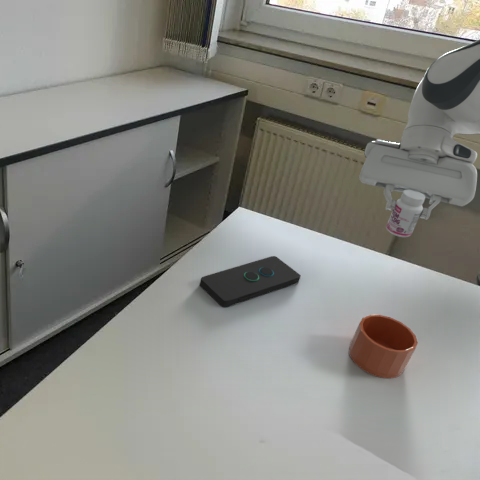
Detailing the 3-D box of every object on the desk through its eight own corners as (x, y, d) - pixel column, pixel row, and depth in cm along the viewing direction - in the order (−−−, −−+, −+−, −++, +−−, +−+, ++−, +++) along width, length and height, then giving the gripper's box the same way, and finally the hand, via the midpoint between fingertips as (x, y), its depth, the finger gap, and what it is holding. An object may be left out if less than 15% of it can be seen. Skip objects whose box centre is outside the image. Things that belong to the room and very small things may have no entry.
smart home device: (303, 276, 109) (225, 301, 100) (300, 282, 110) (224, 308, 101) (274, 254, 115) (199, 276, 106) (272, 260, 116) (197, 283, 107)
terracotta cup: (409, 357, 94) (422, 331, 91) (396, 387, 88) (410, 360, 85) (357, 332, 98) (368, 307, 95) (341, 359, 92) (352, 333, 89)
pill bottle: (380, 229, 107) (396, 191, 103) (393, 222, 110) (408, 186, 105) (403, 240, 104) (419, 202, 100) (415, 233, 107) (432, 196, 102)
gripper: (371, 130, 106) (353, 195, 104) (487, 154, 101) (470, 223, 98) (365, 144, 112) (347, 205, 110) (473, 167, 107) (457, 232, 104)
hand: (406, 214), depth 104 cm, fingers closed on pill bottle, 5 cm apart
